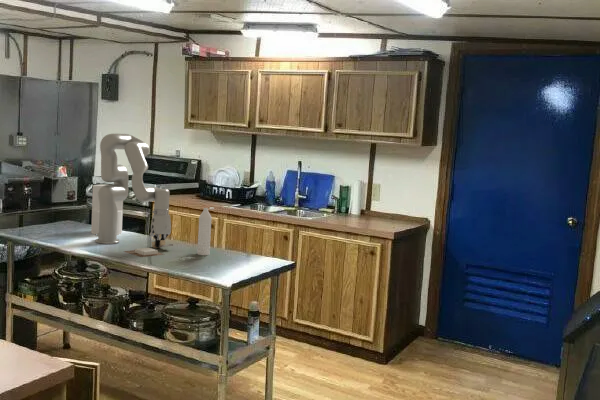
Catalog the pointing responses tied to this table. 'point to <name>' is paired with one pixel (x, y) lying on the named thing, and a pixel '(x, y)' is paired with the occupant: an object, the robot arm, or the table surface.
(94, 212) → the cylinder
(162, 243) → the turner
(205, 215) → the water bottle
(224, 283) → the table surface
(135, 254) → the board
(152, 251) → the tile
